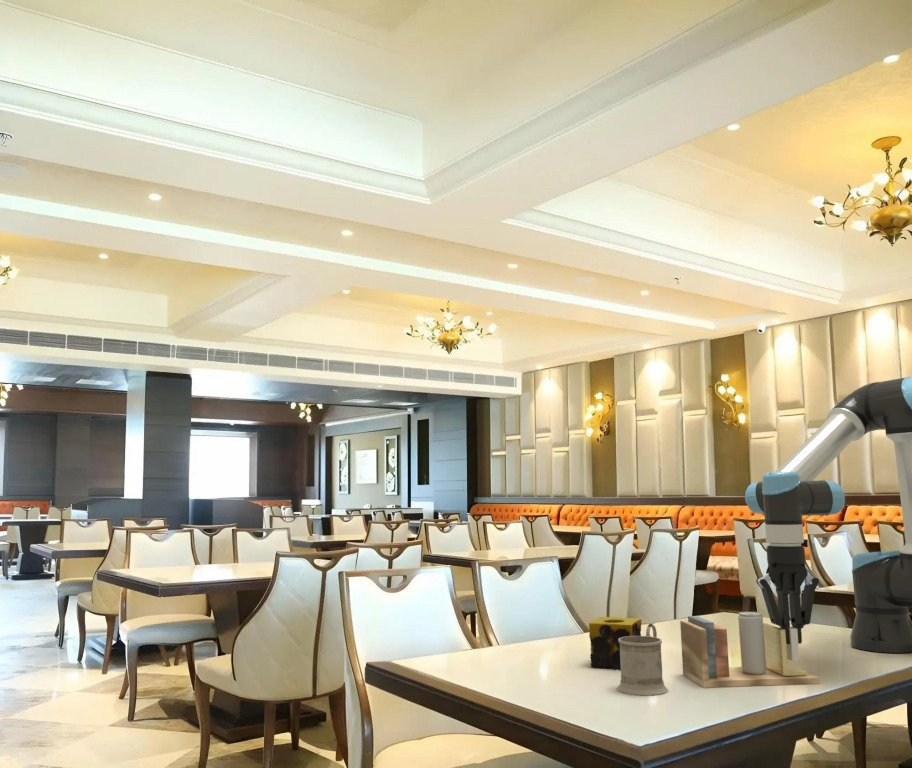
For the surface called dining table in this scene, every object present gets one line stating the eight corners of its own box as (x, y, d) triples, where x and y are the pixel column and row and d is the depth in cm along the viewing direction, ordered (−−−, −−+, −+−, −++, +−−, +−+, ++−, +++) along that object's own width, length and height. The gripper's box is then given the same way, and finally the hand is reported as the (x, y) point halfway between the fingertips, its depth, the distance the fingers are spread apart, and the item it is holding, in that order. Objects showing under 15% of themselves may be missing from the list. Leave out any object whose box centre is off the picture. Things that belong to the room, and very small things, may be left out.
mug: (658, 698, 156) (655, 632, 157) (609, 692, 161) (606, 629, 163) (681, 682, 168) (678, 622, 170) (635, 677, 173) (632, 619, 175)
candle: (645, 662, 189) (642, 618, 190) (635, 671, 180) (633, 624, 181) (601, 659, 193) (599, 616, 194) (589, 668, 184) (588, 622, 185)
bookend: (787, 666, 175) (783, 622, 176) (807, 675, 166) (804, 629, 168) (764, 666, 175) (761, 623, 176) (783, 675, 166) (780, 630, 167)
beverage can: (755, 676, 167) (751, 615, 169) (736, 672, 171) (733, 612, 173) (771, 673, 169) (767, 613, 171) (753, 669, 173) (749, 611, 175)
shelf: (792, 671, 177) (788, 612, 178) (820, 683, 165) (815, 621, 166) (683, 674, 175) (679, 615, 177) (703, 687, 163) (699, 624, 165)
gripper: (806, 543, 178) (814, 655, 175) (747, 544, 177) (754, 657, 174) (823, 545, 171) (832, 662, 168) (762, 546, 170) (770, 664, 167)
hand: (792, 659), depth 171 cm, fingers closed
